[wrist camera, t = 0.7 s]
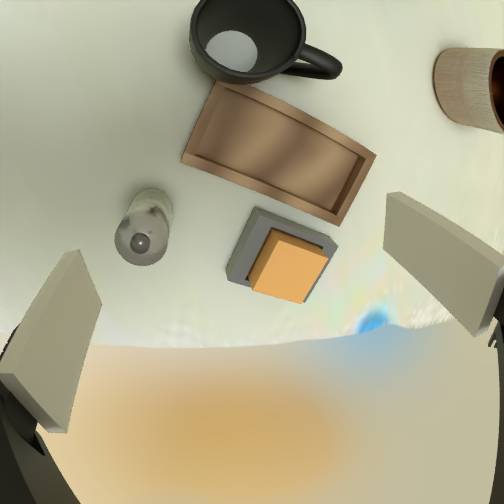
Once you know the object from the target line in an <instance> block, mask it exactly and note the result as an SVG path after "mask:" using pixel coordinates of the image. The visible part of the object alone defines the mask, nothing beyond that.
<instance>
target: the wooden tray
mask: <svg viewBox="0 0 504 504" xmlns="http://www.w3.org/2000/svg"><path fill="white" fill-rule="evenodd" d="M376 156H377V155H376V154H374V153H373V152H371V151H370V150H368V149H367V148H365V147H363V146H362V145H360V144H359V143H357V142H355V141H354V140H352V139H350V138H349V137H347V136H346V135H344V134H342V133H341V132H339V131H337V130H335V129H334V128H332V127H330V126H328V125H327V124H325V123H323V122H321V121H320V120H318V119H316V118H314V117H312V116H311V115H309V114H307V113H305V112H303V111H301V110H299V109H297V108H295V107H293V106H292V105H290V104H288V103H286V102H284V101H282V100H280V99H277V98H275V97H273V96H271V95H269V94H267V93H265V92H263V91H261V90H258V89H256V88H254V87H252V86H250V85H247V84H245V85H239V84H229V83H225V82H221V81H219V80H216V82H215V84H214V86H213V88H212V90H211V92H210V94H209V97H208V99H207V101H206V103H205V105H204V107H203V110H202V112H201V114H200V116H199V118H198V121H197V123H196V125H195V127H194V130H193V132H192V134H191V137H190V139H189V141H188V144H187V146H186V149H185V151H184V153H183V156H182V158H181V163H184V164H186V165H189V166H192V167H195V168H197V169H200V170H203V171H205V172H208V173H211V174H213V175H216V176H219V177H221V178H224V179H226V180H229V181H232V182H234V183H237V184H239V185H242V186H244V187H247V188H249V189H252V190H254V191H257V192H259V193H262V194H264V195H267V196H269V197H271V198H274V199H276V200H279V201H281V202H283V203H286V204H288V205H290V206H293V207H295V208H298V209H300V210H302V211H305V212H307V213H309V214H311V215H314V216H316V217H318V218H321V219H323V220H325V221H327V222H330V223H332V224H334V225H336V226H338V227H339V226H340V224H341V223H342V221H343V219H344V217H345V215H346V213H347V212H348V210H349V208H350V206H351V204H352V202H353V200H354V199H355V197H356V195H357V193H358V191H359V189H360V187H361V185H362V183H363V181H364V179H365V177H366V175H367V174H368V172H369V170H370V168H371V166H372V164H373V162H374V160H375V158H376Z"/></svg>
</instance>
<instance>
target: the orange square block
mask: <svg viewBox="0 0 504 504" xmlns="http://www.w3.org/2000/svg"><path fill="white" fill-rule="evenodd" d="M327 260H328V257H327V256H326V255H325V254H324V252H323V251H322V250H321V249H320V247H319V246H318V245H316V244H314V243H311V242H308V241H306V240H303V239H301V238H298V237H296V236H293V235H290V234H288V233H285V232H283V231H280V230H277V229H275V228H272V227H271V229H270V231H269V233H268V235H267V237H266V239H265V241H264V243H263V245H262V247H261V249H260V251H259V253H258V255H257V257H256V259H255V261H254V263H253V265H252V267H251V269H250V271H249V273H248V278H249V281H250V284H251V288H252V290H253V291H256V292H260V293H263V294H267V295H270V296H274V297H277V298H281V299H285V300H288V301H292V302H296V303H299V304H301V303H302V302H303V300H304V299H305V297H306V295H307V294H308V292H309V290H310V289H311V287H312V285H313V284H314V282H315V280H316V279H317V277H318V275H319V274H320V272H321V270H322V269H323V267H324V265H325V264H326V262H327Z"/></svg>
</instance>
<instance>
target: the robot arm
mask: <svg viewBox="0 0 504 504" xmlns="http://www.w3.org/2000/svg"><path fill="white" fill-rule="evenodd" d="M383 249H384V250H385V251H386V252H387V253H388V254H389V255H390V256H392V257H393V258H394V259H395V260H396V261H397V262H398V263H399V264H400V265H401V266H403V267H404V268H405V269H406V270H407V271H408V272H409V273H410V274H411V275H412V276H413V277H414V278H415V279H417V280H418V281H419V282H420V283H421V284H422V285H423V286H424V287H425V288H426V289H427V290H428V291H429V292H430V293H431V294H432V295H433V296H434V297H435V298H436V299H437V300H438V301H439V302H440V303H441V304H442V305H443V306H444V307H445V308H446V309H447V310H448V311H449V312H450V313H451V314H452V315H453V316H454V317H455V318H456V319H457V320H458V321H459V322H460V323H461V324H462V325H463V326H464V327H465V328H466V329H467V331H468V332H470V333H471V335H472V336H473V337H477V336H478V335H480V334H482V333H484V332H485V331H487V330H488V328H489V325H490V323H491V321H492V318H493V316H494V317H495V318H496V319H497V320H498V323H497V325H496V327H495V329H494V332H493V334H492V336H491V338H490V340H489V343H488V347H491V344H492V343H493V341H494V340H496V341H497V342H496V344H495V346H494V348H497V351H498V363H499V381H500V382H499V383H500V420H499V421H500V422H499V438H498V450H497V460H496V467H495V474H494V481H493V487H492V493H491V498H490V502H489V504H504V256H503V255H502V254H500V253H499V252H497V251H496V250H495V249H493V248H492V247H490V246H489V245H487V244H486V243H484V242H483V241H482V240H480V239H479V238H477V237H476V236H474V235H472V234H471V233H469V232H468V231H466V230H465V229H463V228H462V227H460V226H458V225H457V224H455V223H454V222H452V221H450V220H449V219H447V218H445V217H444V216H442V215H440V214H439V213H437V212H435V211H434V210H432V209H430V208H429V207H427V206H425V205H423V204H422V203H420V202H418V201H416V200H414V199H413V198H411V197H409V196H407V195H405V194H403V193H402V192H394V193H387V198H386V217H385V231H384V243H383ZM101 306H102V303H101V301H100V298H99V296H98V294H97V292H96V289H95V287H94V285H93V282H92V280H91V277H90V275H89V272H88V270H87V267H86V265H85V262H84V260H83V257H82V255H81V252H80V250H77V251H72V252H68V253H65V254H64V255H63V256H62V258H61V259H60V261H59V262H58V264H57V265H56V267H55V268H54V270H53V271H52V273H51V274H50V276H49V277H48V279H47V280H46V282H45V283H44V285H43V286H42V288H41V289H40V291H39V293H38V294H37V296H36V297H35V299H34V301H33V302H32V304H31V306H30V307H29V309H28V311H27V312H26V314H25V316H24V318H23V319H22V321H21V323H20V324H19V325H18V326H17V327H16V328H15V329H14V331H13V332H12V334H11V336H10V338H9V340H8V341H7V342H8V343H7V344H6V345H5V347H4V349H3V352H2V353H1V355H0V504H80V502H79V501H78V499H77V498H76V496H75V495H74V493H73V492H72V490H71V489H70V487H69V486H68V484H67V482H66V481H65V479H64V477H63V476H62V474H61V472H60V471H59V469H58V467H57V465H56V464H55V462H54V460H53V458H52V456H51V454H50V453H49V451H48V449H47V447H46V445H45V443H44V441H43V439H42V437H41V436H40V435H39V433H38V432H37V431H36V426H37V422H38V423H39V424H40V425H41V426H42V427H43V428H44V429H45V430H46V431H47V432H51V433H67V431H68V426H69V420H70V416H71V411H72V407H73V402H74V398H75V394H76V390H77V386H78V382H79V378H80V374H81V370H82V367H83V364H84V360H85V356H86V353H87V350H88V346H89V343H90V340H91V337H92V333H93V330H94V327H95V324H96V321H97V318H98V315H99V312H100V309H101Z"/></svg>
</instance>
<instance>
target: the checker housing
mask: <svg viewBox="0 0 504 504" xmlns="http://www.w3.org/2000/svg"><path fill="white" fill-rule="evenodd" d="M271 227H272V228H275V229H277V230H280V231H283V232H285V233H288V234H290V235H293V236H296V237H298V238H301V239H303V240H306V241H308V242H311V243H314V244H316V245H318V246H319V247H320V249H321V250H322V251H323V252H324V254H325V255H326V256H327V257H328V260H327V262H326V264H325V265H324V267H323V269H322V270H321V272H320V274H319V275H318V277H317V279H316V280H315V282H314V284H313V285H312V287H311V289H310V290H309V292H308V294H307V295H306V297H305V299H304V300H303V302H304V303H305V302H306V300H307V298H308V297H309V295H310V293H311V292H312V290H313V289H314V287H315V285H316V284H317V282H318V280H319V279H320V277H321V275H322V274H323V272H324V270H325V269H326V267H327V265H328V263H329V262H330V260H331V258H332V257H333V255H334V253H335V251H336V250H337V248H338V245H337V244H336V243H335V242H334V241H333V240H332V239H331V238H330V237H328V236H326V235H324V234H321V233H319V232H317V231H314V230H312V229H309V228H307V227H304V226H302V225H299V224H297V223H295V222H292V221H290V220H287V219H285V218H282V217H280V216H277V215H275V214H272V213H270V212H267V211H264V210H262V209H259V208H257V207H254V210H253V212H252V214H251V216H250V218H249V220H248V222H247V224H246V226H245V228H244V231H243V233H242V235H241V237H240V239H239V241H238V243H237V245H236V248H235V250H234V252H233V254H232V256H231V258H230V260H229V263H228V265H227V267H226V274H227V279H228V281H231V282H234V283H237V284H241V285H244V286H248V287H251V284H250V281H249V278H248V273H249V271H250V269H251V267H252V265H253V263H254V261H255V259H256V257H257V255H258V253H259V251H260V249H261V247H262V245H263V243H264V241H265V239H266V237H267V235H268V233H269V231H270V229H271Z"/></svg>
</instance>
